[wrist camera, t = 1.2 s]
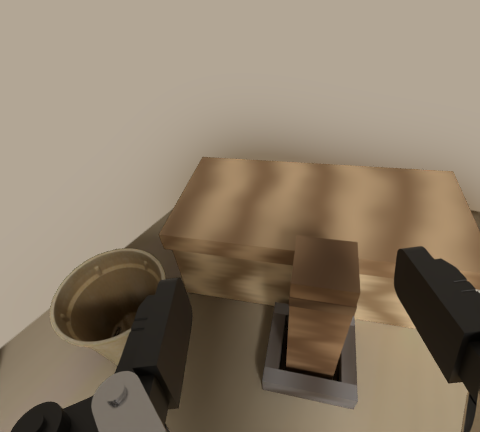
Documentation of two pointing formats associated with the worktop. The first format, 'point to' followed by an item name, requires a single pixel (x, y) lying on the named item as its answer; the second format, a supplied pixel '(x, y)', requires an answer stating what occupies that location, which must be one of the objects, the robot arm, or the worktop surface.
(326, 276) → the wooden block
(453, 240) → the wooden chest
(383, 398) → the worktop surface
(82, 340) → the flower pot
